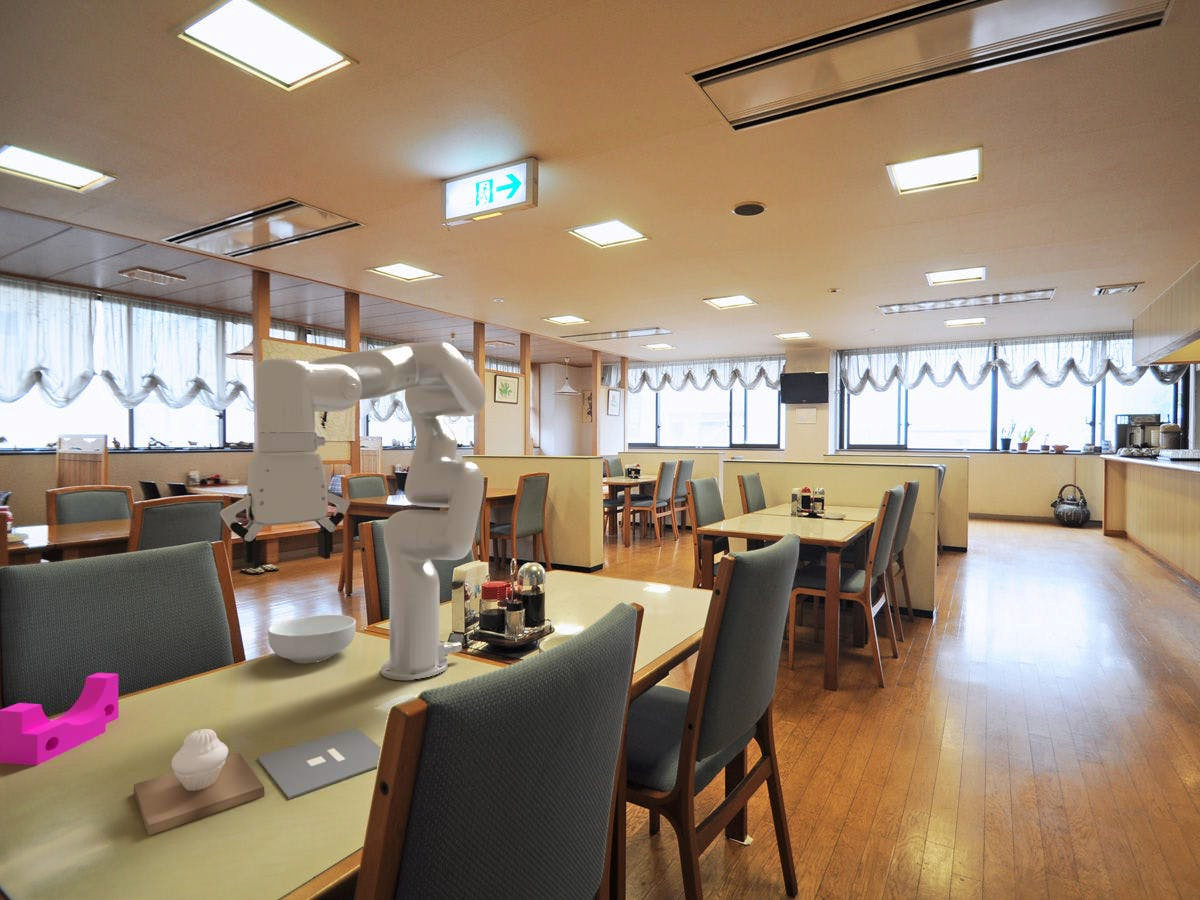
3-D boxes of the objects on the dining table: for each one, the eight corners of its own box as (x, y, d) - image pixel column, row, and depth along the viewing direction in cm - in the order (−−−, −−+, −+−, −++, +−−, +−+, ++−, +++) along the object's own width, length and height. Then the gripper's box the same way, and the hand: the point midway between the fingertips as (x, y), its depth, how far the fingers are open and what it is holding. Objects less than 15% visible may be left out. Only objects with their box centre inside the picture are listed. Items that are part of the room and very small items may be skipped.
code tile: (355, 728, 99) (355, 726, 99) (395, 761, 89) (395, 759, 89) (257, 759, 89) (257, 756, 89) (288, 799, 79) (288, 796, 79)
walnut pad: (239, 761, 89) (239, 752, 89) (264, 795, 80) (264, 786, 80) (133, 793, 81) (133, 784, 81) (148, 835, 72) (148, 825, 72)
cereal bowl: (372, 649, 138) (372, 617, 138) (315, 675, 122) (315, 639, 122) (311, 641, 144) (311, 610, 144) (248, 665, 128) (248, 630, 128)
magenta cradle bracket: (37, 766, 88) (37, 713, 88) (-1, 763, 89) (-2, 710, 89) (132, 720, 103) (131, 674, 103) (98, 718, 104) (98, 672, 104)
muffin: (159, 793, 78) (158, 737, 78) (203, 769, 84) (202, 716, 84) (197, 801, 77) (197, 743, 77) (239, 775, 83) (239, 722, 82)
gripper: (338, 443, 100) (340, 551, 101) (212, 446, 89) (216, 567, 89) (356, 444, 95) (359, 557, 95) (225, 447, 83) (229, 576, 84)
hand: (290, 562), depth 92 cm, fingers open, 9 cm apart
